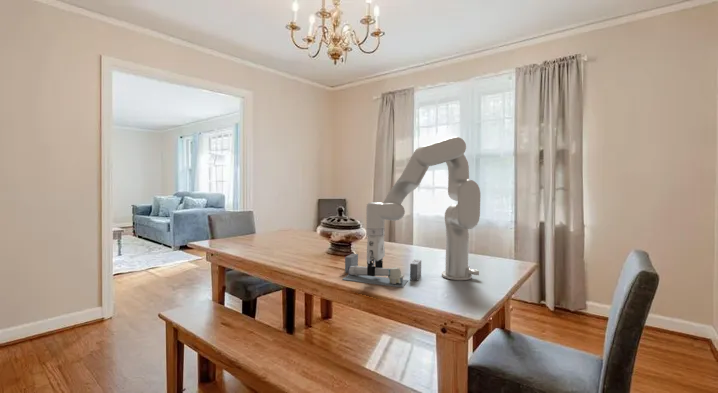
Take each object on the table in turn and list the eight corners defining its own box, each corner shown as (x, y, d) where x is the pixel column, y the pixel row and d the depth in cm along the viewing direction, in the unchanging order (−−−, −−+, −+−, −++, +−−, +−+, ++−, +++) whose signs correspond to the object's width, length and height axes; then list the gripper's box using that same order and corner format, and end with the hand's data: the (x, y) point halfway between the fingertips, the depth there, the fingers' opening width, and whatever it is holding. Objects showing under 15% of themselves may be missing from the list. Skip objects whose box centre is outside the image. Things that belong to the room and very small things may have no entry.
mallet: (352, 264, 151) (404, 264, 138) (354, 279, 151) (406, 280, 138) (346, 267, 147) (398, 267, 134) (348, 282, 146) (400, 284, 134)
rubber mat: (408, 281, 141) (408, 280, 141) (402, 287, 133) (402, 286, 133) (350, 274, 151) (350, 273, 151) (342, 279, 143) (342, 278, 143)
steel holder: (421, 275, 149) (421, 260, 149) (417, 281, 142) (417, 264, 141) (352, 268, 161) (352, 253, 161) (345, 272, 154) (345, 257, 154)
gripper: (377, 236, 132) (376, 279, 133) (390, 229, 148) (389, 268, 149) (359, 234, 134) (359, 277, 135) (373, 228, 150) (373, 266, 151)
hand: (375, 272), depth 142 cm, fingers open, 9 cm apart
